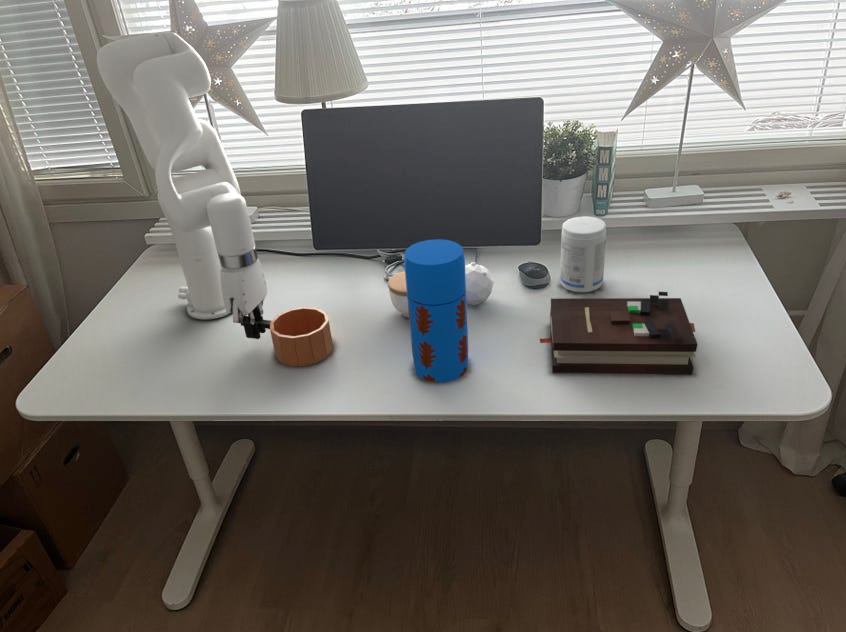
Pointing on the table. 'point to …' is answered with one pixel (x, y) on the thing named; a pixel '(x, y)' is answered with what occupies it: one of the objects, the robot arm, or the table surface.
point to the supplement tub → (582, 254)
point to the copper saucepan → (300, 336)
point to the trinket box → (399, 293)
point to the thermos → (437, 309)
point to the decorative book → (621, 336)
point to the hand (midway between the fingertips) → (256, 334)
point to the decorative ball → (477, 283)
